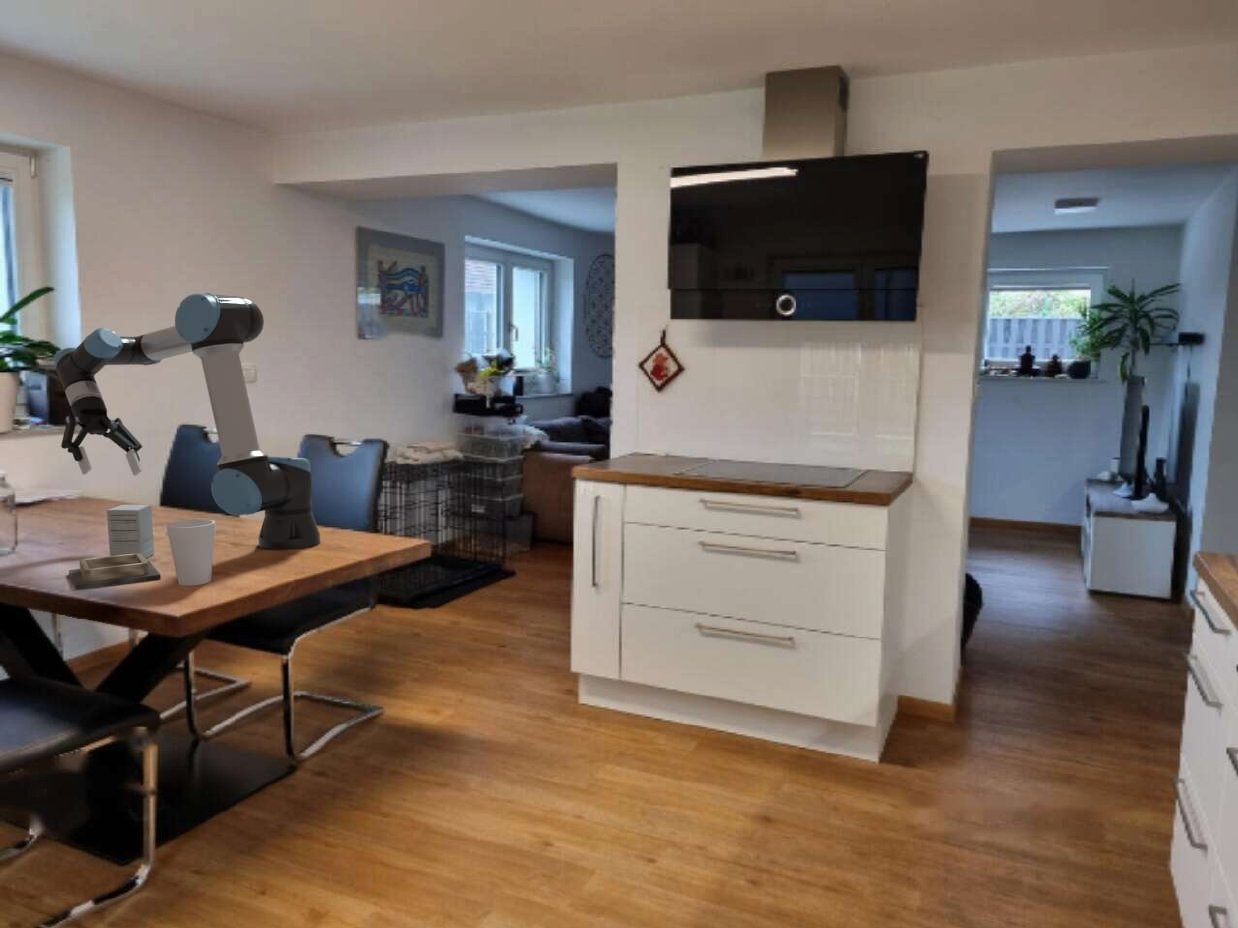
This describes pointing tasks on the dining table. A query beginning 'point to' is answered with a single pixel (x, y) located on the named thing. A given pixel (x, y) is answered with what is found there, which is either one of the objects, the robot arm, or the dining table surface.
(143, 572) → the keeper cradle
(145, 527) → the supplement box
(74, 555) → the dining table surface
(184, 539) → the foam cup
